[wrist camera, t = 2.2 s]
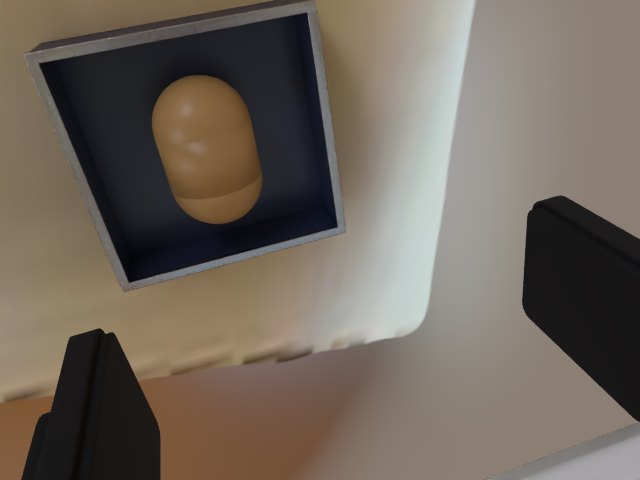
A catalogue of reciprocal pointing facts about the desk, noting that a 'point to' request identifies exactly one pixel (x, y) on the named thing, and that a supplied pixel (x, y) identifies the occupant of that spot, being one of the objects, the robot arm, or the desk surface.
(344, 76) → the desk surface
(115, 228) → the square open-top storage box
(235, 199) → the potato
